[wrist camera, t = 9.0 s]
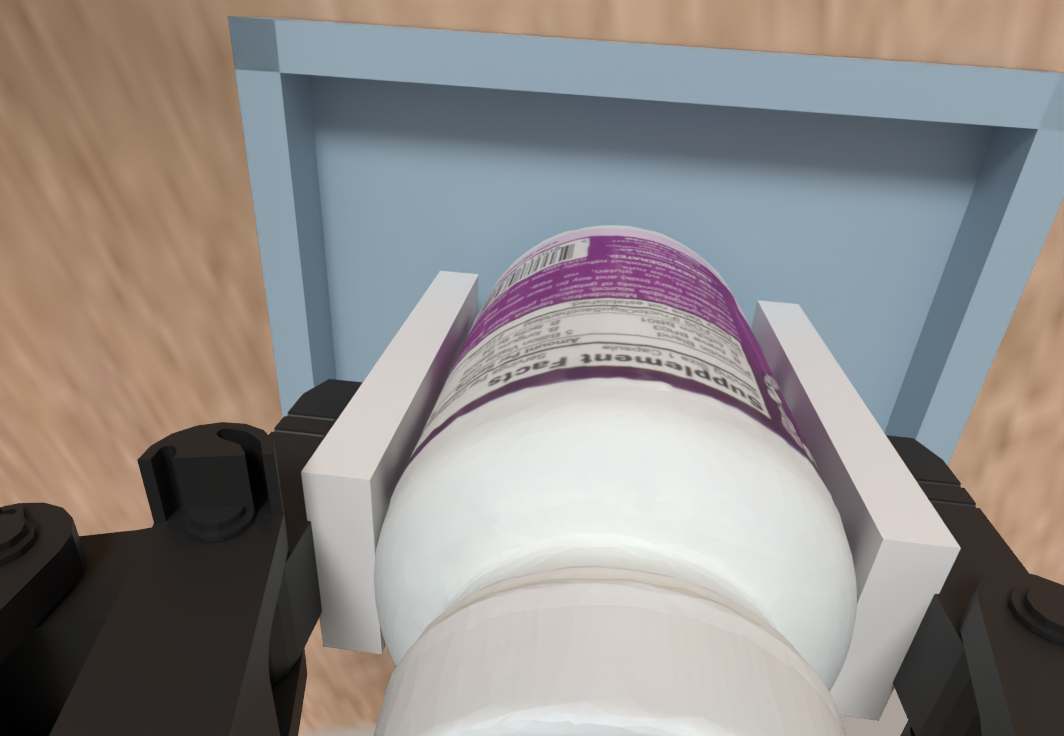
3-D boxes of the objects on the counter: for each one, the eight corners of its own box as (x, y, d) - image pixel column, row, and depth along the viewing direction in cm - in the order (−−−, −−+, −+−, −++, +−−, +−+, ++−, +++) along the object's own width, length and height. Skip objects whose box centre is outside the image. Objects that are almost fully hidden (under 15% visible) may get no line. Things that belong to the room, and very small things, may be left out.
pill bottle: (718, 467, 14) (871, 1101, 6) (477, 444, 15) (299, 1007, 6) (770, 224, 12) (1163, 719, 3) (479, 203, 12) (187, 603, 4)
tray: (325, 482, 18) (297, 527, 16) (276, 17, 13) (228, 17, 11) (863, 545, 17) (889, 600, 15) (1045, 70, 12) (1115, 77, 10)
